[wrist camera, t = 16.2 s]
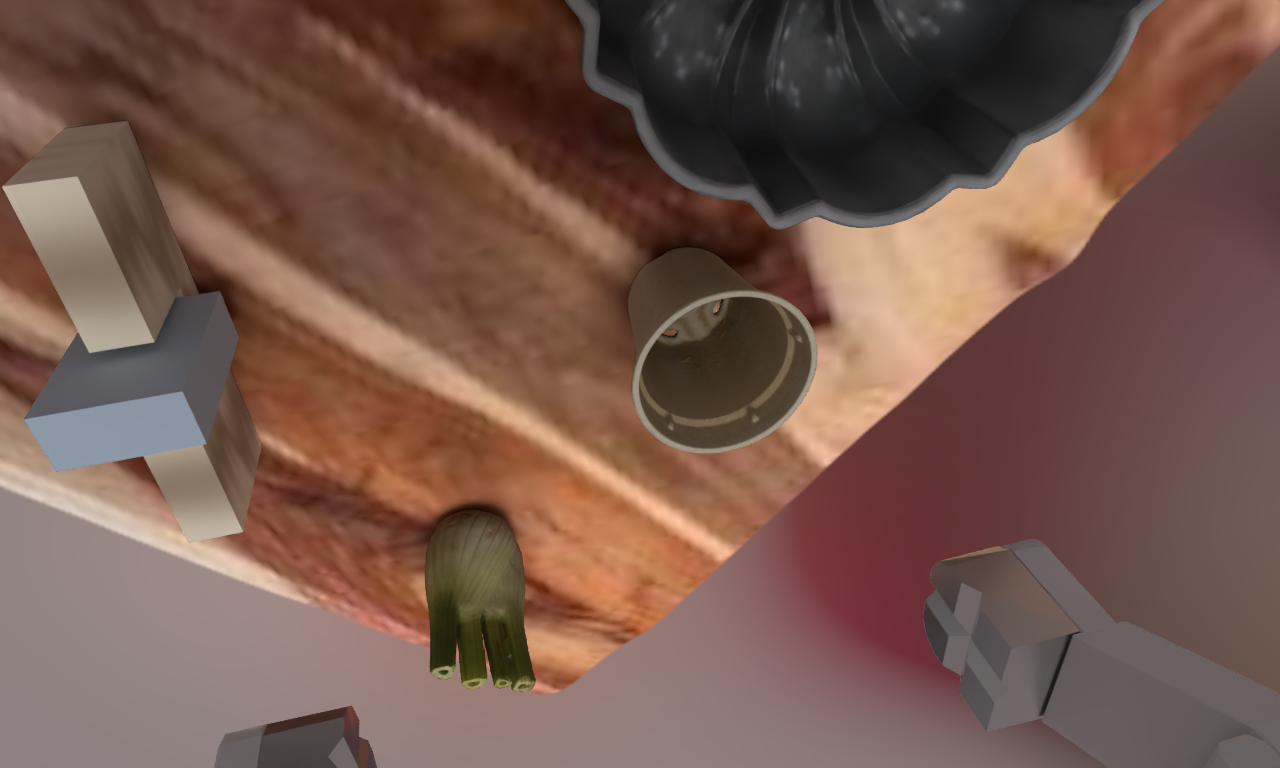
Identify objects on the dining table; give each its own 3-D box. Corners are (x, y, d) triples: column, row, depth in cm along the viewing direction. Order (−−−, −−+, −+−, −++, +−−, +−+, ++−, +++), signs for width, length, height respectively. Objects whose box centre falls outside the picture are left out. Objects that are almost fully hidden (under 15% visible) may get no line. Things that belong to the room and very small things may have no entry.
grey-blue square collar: (115, 359, 39) (56, 472, 32) (91, 311, 38) (23, 419, 31) (238, 338, 40) (206, 443, 33) (220, 291, 39) (182, 391, 32)
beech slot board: (261, 445, 46) (243, 531, 40) (214, 454, 46) (188, 542, 40) (127, 120, 36) (77, 176, 30) (64, 128, 35) (1, 186, 30)
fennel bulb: (412, 524, 52) (416, 685, 42) (474, 481, 51) (493, 634, 41) (472, 570, 55) (489, 729, 45) (531, 530, 54) (561, 682, 45)
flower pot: (608, 381, 49) (643, 473, 42) (586, 236, 44) (622, 314, 37) (758, 347, 51) (816, 431, 44) (754, 203, 45) (820, 272, 38)
